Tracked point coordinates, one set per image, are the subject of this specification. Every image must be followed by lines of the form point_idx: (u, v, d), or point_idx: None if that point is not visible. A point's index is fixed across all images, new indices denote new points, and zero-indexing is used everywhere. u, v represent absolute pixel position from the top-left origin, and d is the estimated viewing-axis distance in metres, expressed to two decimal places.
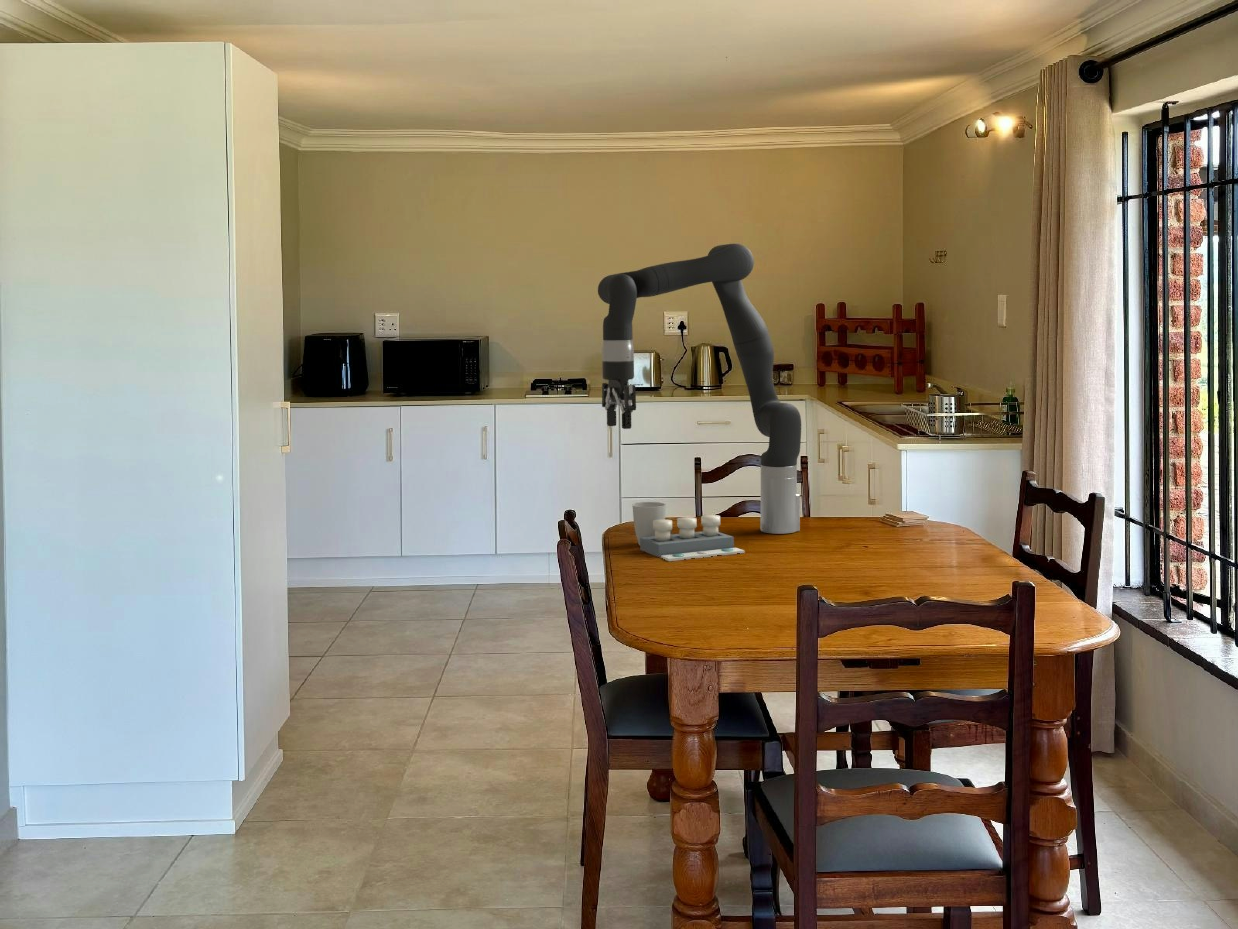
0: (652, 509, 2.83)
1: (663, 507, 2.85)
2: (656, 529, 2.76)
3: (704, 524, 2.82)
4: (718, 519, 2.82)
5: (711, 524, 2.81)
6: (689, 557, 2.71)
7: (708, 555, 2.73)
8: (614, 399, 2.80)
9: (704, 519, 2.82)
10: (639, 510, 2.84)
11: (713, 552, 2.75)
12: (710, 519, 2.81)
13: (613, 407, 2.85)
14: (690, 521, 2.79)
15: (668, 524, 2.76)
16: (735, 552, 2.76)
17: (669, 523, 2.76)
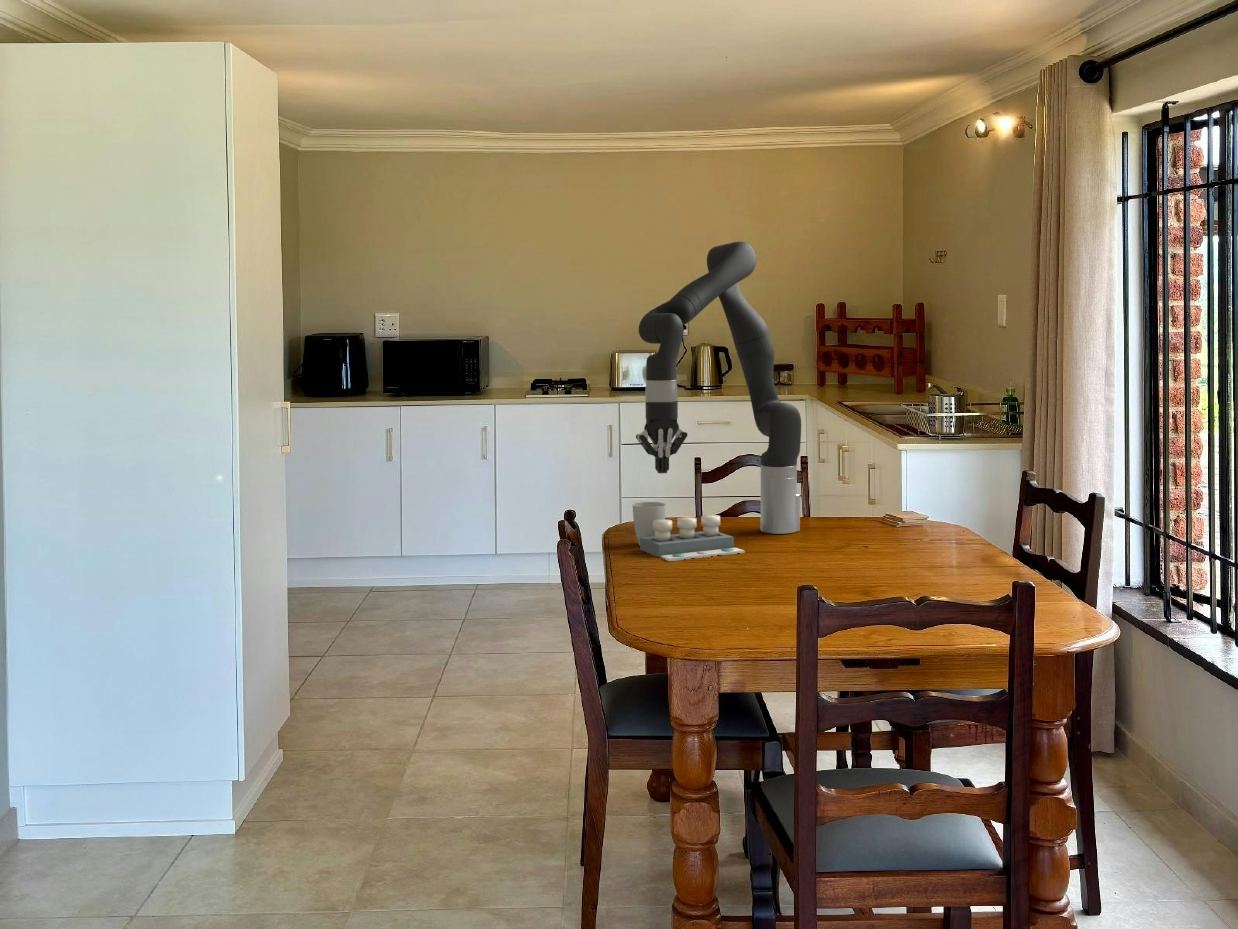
0: (652, 509, 2.83)
1: (663, 507, 2.85)
2: (656, 529, 2.76)
3: (704, 524, 2.82)
4: (718, 519, 2.82)
5: (711, 524, 2.81)
6: (689, 557, 2.71)
7: (708, 555, 2.73)
8: (663, 440, 2.75)
9: (704, 519, 2.82)
10: (639, 510, 2.84)
11: (713, 552, 2.75)
12: (710, 519, 2.81)
13: None
14: (690, 521, 2.79)
15: (668, 524, 2.76)
16: (735, 552, 2.76)
17: (669, 523, 2.76)
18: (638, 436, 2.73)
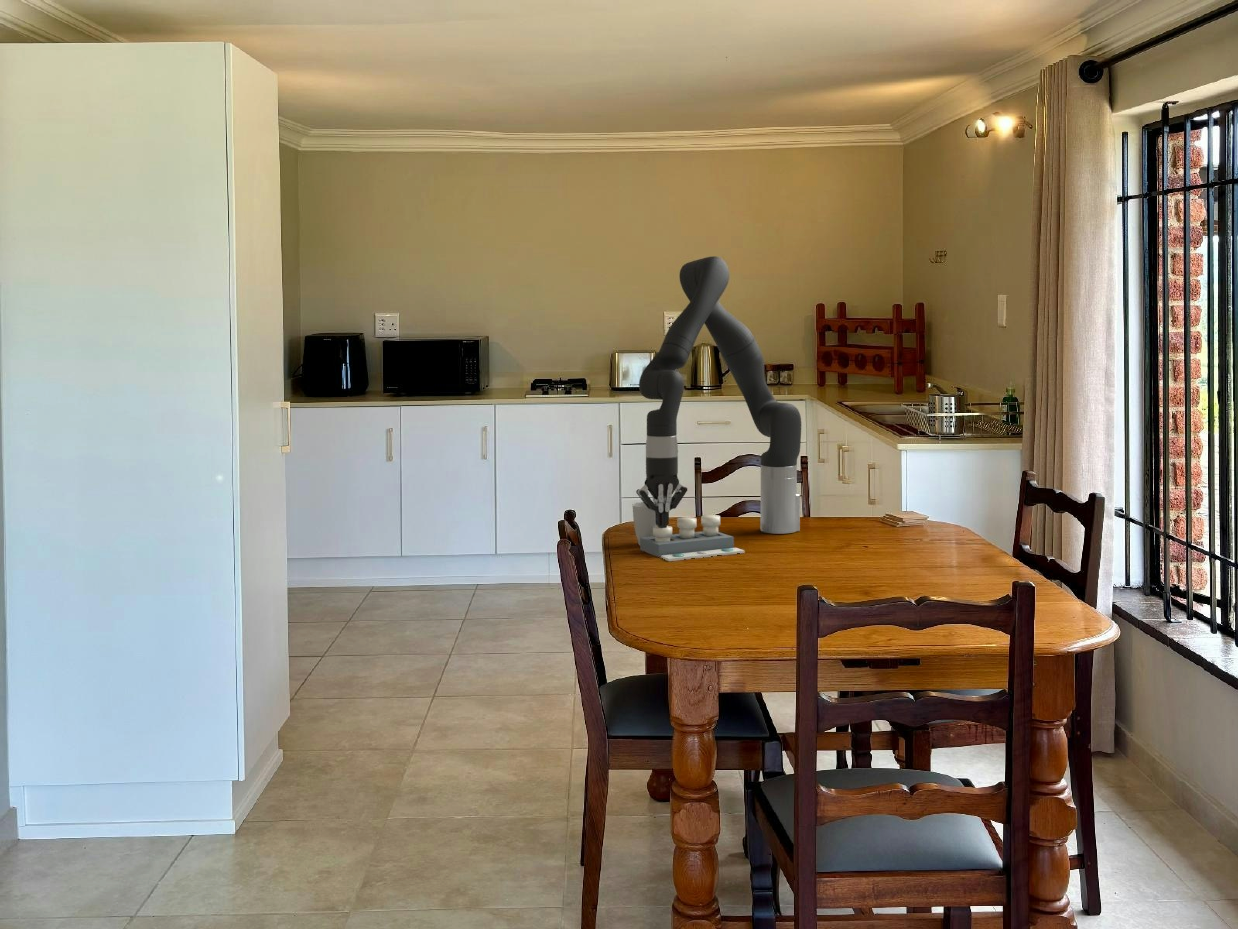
0: None
1: None
2: (656, 535, 2.77)
3: (704, 524, 2.82)
4: (718, 519, 2.82)
5: (711, 524, 2.81)
6: (689, 557, 2.71)
7: (708, 555, 2.73)
8: (663, 495, 2.76)
9: (704, 519, 2.82)
10: (639, 510, 2.84)
11: (713, 552, 2.75)
12: (710, 519, 2.81)
13: None
14: (690, 521, 2.79)
15: (668, 530, 2.76)
16: (735, 552, 2.76)
17: (669, 529, 2.77)
18: (638, 491, 2.74)
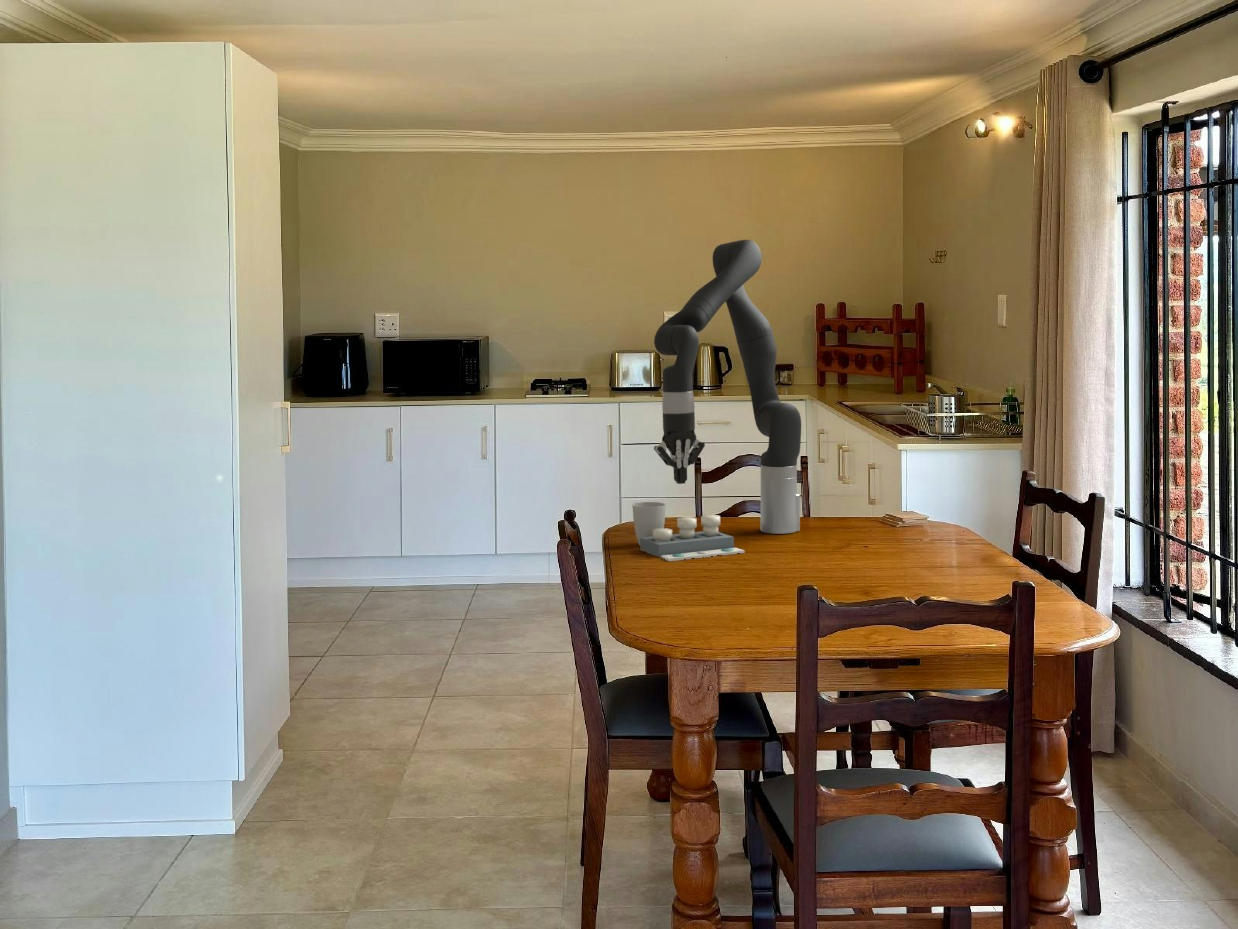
0: (652, 509, 2.83)
1: (663, 507, 2.85)
2: (656, 538, 2.77)
3: (704, 524, 2.82)
4: (718, 519, 2.82)
5: (711, 524, 2.81)
6: (689, 557, 2.71)
7: (708, 555, 2.73)
8: (681, 451, 2.77)
9: (704, 519, 2.82)
10: (639, 510, 2.84)
11: (713, 552, 2.75)
12: (710, 519, 2.81)
13: None
14: (690, 521, 2.79)
15: (668, 533, 2.76)
16: (735, 552, 2.76)
17: (669, 532, 2.77)
18: (656, 448, 2.75)
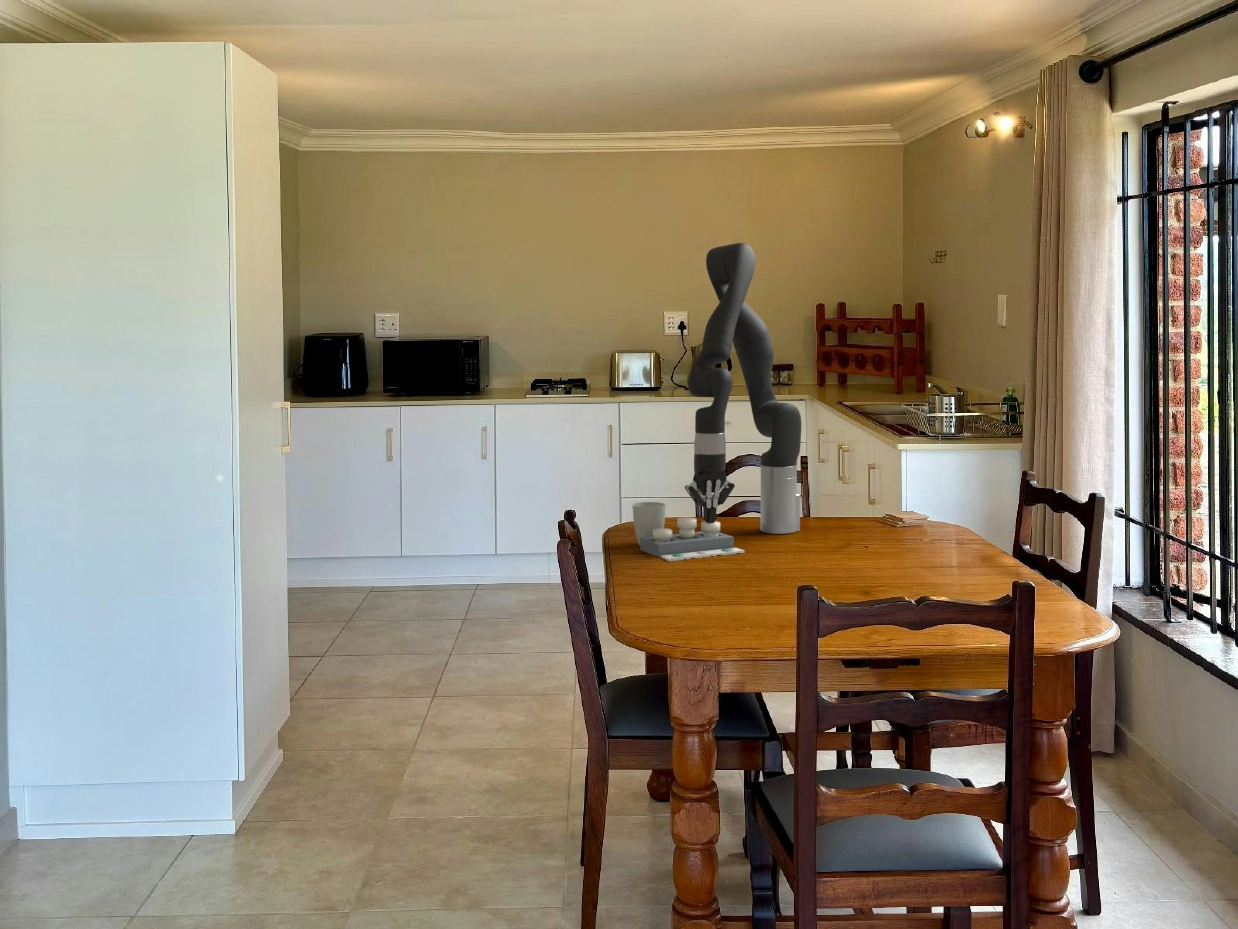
0: (652, 509, 2.83)
1: (663, 507, 2.85)
2: (656, 538, 2.77)
3: (704, 530, 2.82)
4: (718, 525, 2.82)
5: (711, 530, 2.81)
6: (689, 557, 2.71)
7: (708, 555, 2.73)
8: (711, 491, 2.82)
9: (704, 525, 2.82)
10: (639, 510, 2.84)
11: (713, 552, 2.75)
12: (710, 525, 2.81)
13: None
14: (690, 521, 2.79)
15: (668, 533, 2.76)
16: (735, 552, 2.76)
17: (669, 532, 2.77)
18: (687, 487, 2.80)
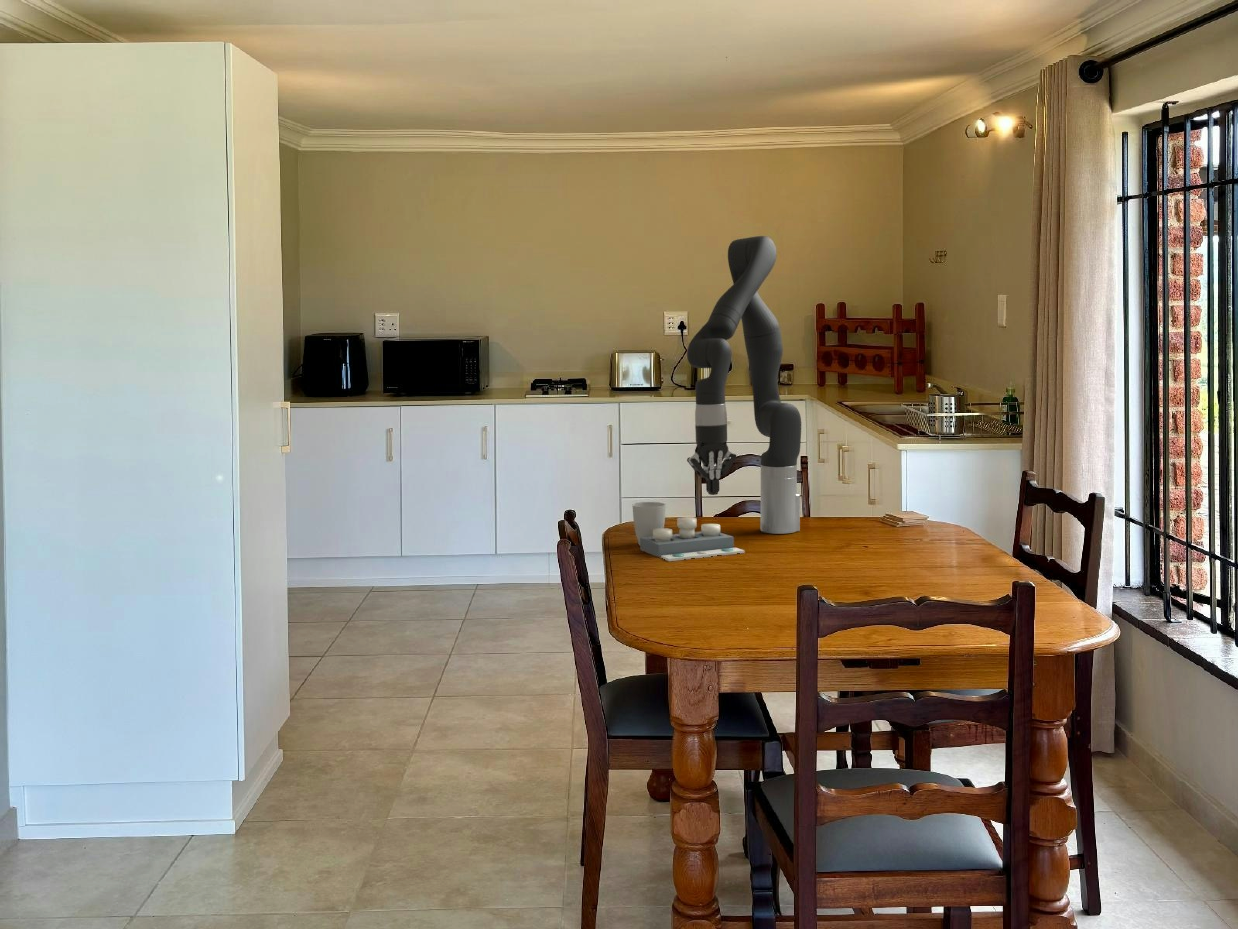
0: (652, 509, 2.83)
1: (663, 507, 2.85)
2: (656, 538, 2.77)
3: (704, 533, 2.82)
4: (718, 528, 2.82)
5: (711, 533, 2.82)
6: (689, 557, 2.71)
7: (708, 555, 2.73)
8: (714, 462, 2.80)
9: (704, 528, 2.82)
10: (639, 510, 2.84)
11: (713, 552, 2.75)
12: (710, 528, 2.81)
13: None
14: (690, 521, 2.79)
15: (668, 533, 2.76)
16: (735, 552, 2.76)
17: (669, 532, 2.77)
18: (689, 459, 2.79)
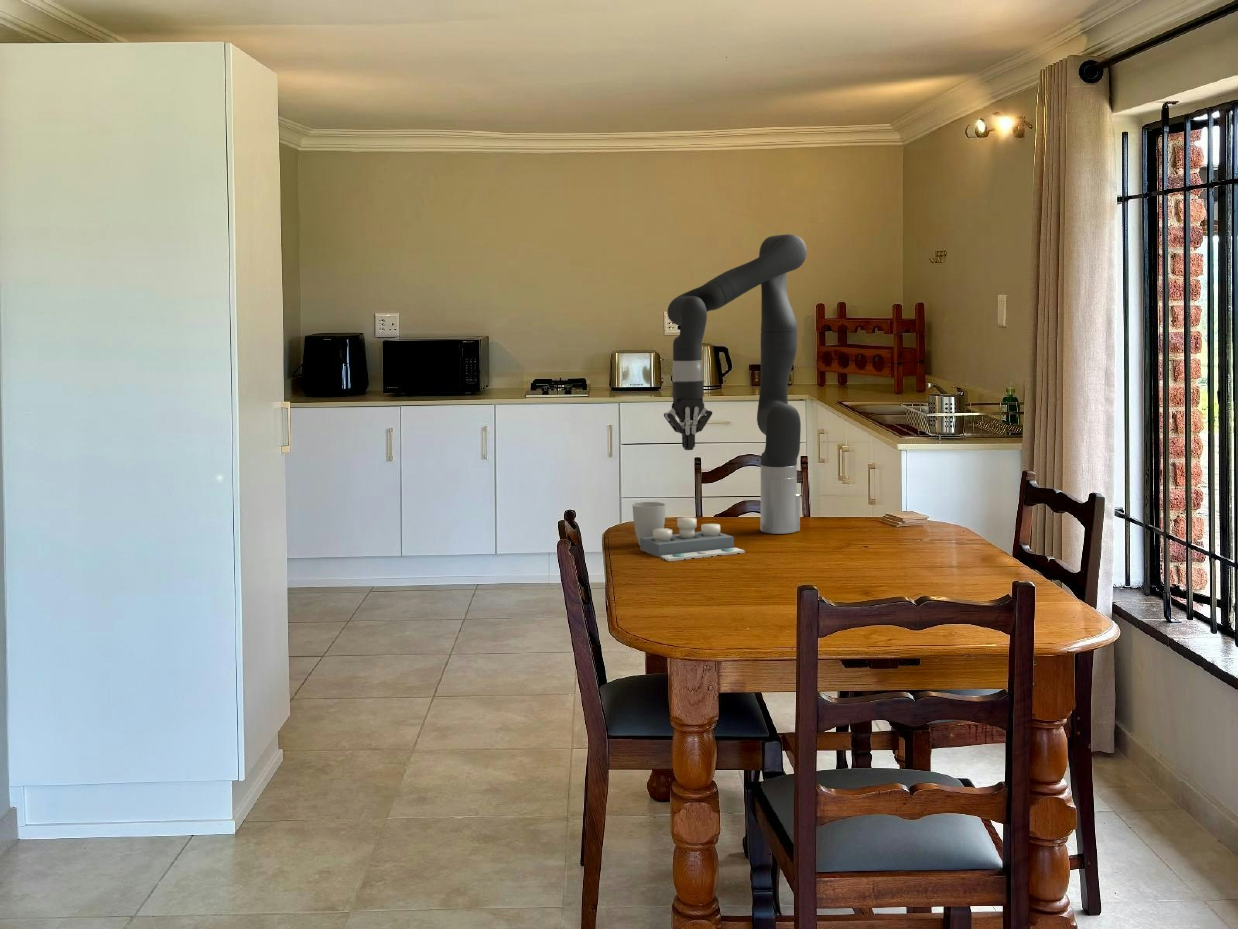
0: (652, 509, 2.83)
1: (663, 507, 2.85)
2: (656, 538, 2.77)
3: (704, 533, 2.82)
4: (718, 528, 2.82)
5: (711, 533, 2.82)
6: (689, 557, 2.71)
7: (708, 555, 2.73)
8: (690, 418, 2.87)
9: (704, 528, 2.82)
10: (639, 510, 2.84)
11: (713, 552, 2.75)
12: (710, 528, 2.81)
13: None
14: (690, 521, 2.79)
15: (668, 533, 2.76)
16: (735, 552, 2.76)
17: (669, 532, 2.77)
18: (666, 414, 2.85)
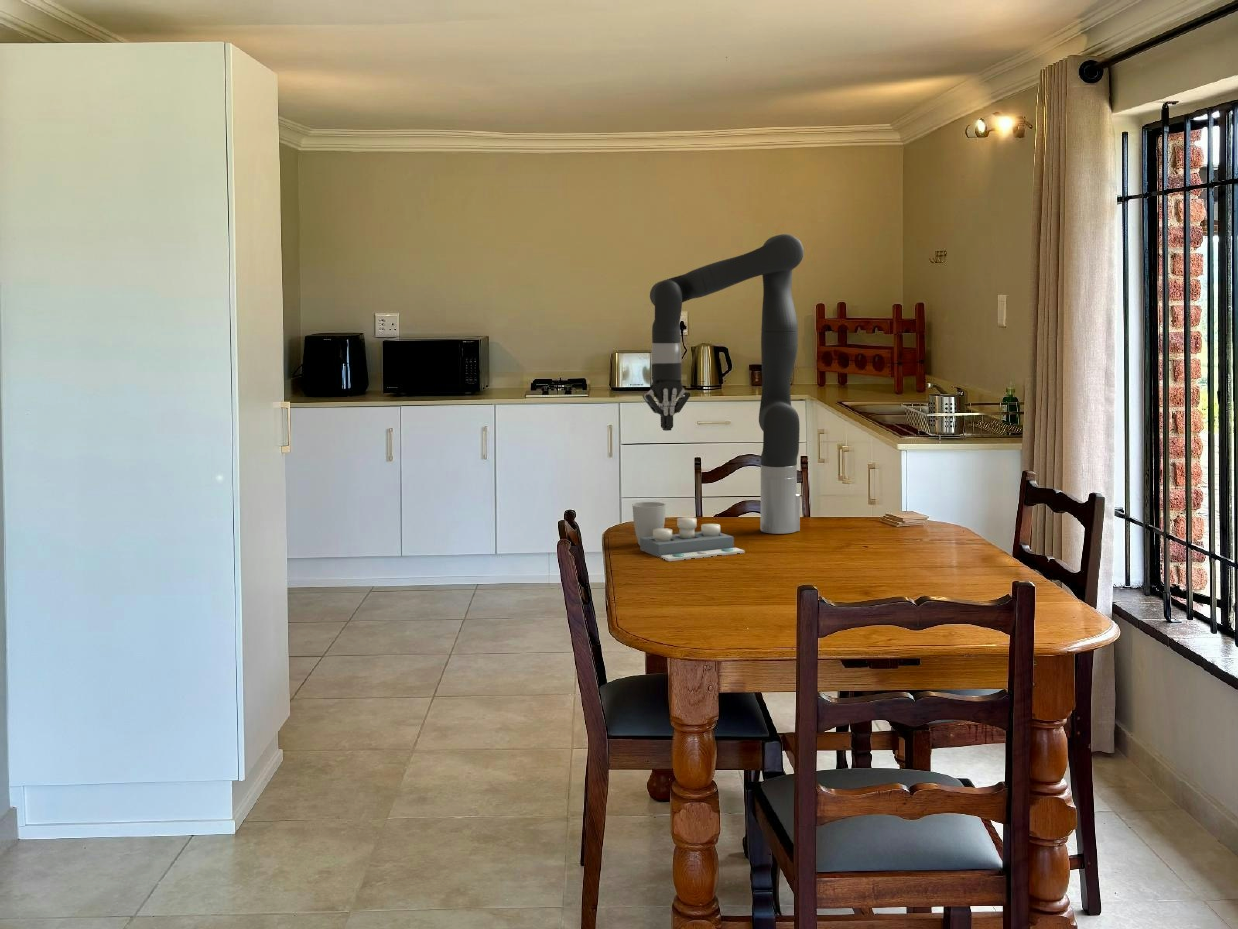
0: (652, 509, 2.83)
1: (663, 507, 2.85)
2: (656, 538, 2.77)
3: (704, 533, 2.82)
4: (718, 528, 2.82)
5: (711, 533, 2.82)
6: (689, 557, 2.71)
7: (708, 555, 2.73)
8: (668, 399, 2.94)
9: (704, 528, 2.82)
10: (639, 510, 2.84)
11: (713, 552, 2.75)
12: (710, 528, 2.81)
13: None
14: (690, 521, 2.79)
15: (668, 533, 2.76)
16: (735, 552, 2.76)
17: (669, 532, 2.77)
18: (645, 395, 2.92)
